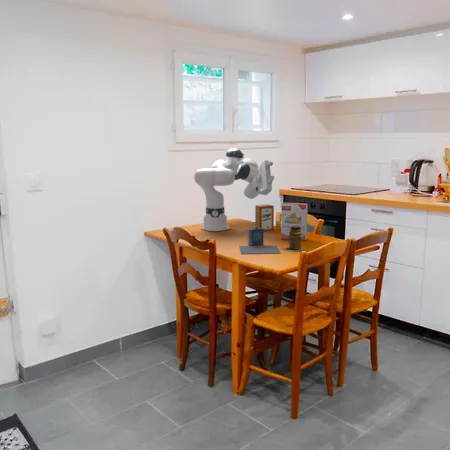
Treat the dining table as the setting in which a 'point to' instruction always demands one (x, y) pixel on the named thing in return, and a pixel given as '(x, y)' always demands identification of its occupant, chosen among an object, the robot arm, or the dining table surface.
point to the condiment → (295, 239)
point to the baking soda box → (264, 217)
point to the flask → (255, 236)
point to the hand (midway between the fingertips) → (272, 169)
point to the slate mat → (260, 249)
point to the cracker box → (293, 219)
